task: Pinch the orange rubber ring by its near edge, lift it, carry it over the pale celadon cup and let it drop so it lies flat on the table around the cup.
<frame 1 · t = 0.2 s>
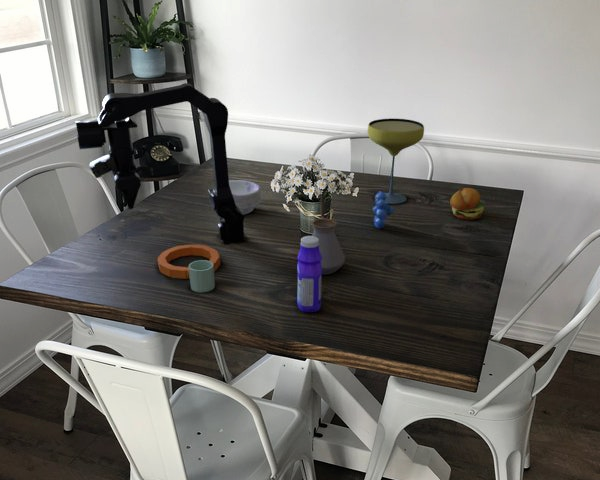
hand: (129, 203, 168), 14 cm above the table, tool pointing down, fingers open, 9 cm apart
grapes: (382, 229, 190), on the table
cocktail glass: (390, 199, 213), on the table
cup: (202, 286, 157), on the table
coffee pot: (322, 260, 170), on the table
cheeseburger: (466, 216, 199), on the table
paper bowls: (237, 210, 203), on the table
ring: (189, 265, 167), on the table
bottle: (309, 307, 148), on the table
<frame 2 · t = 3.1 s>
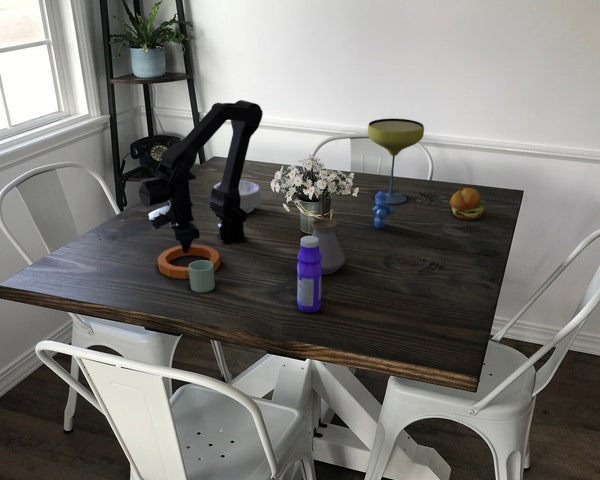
hand: (184, 251, 173), 1 cm above the table, tool pointing down, fingers closed on ring, 2 cm apart
ring: (189, 264, 167), on the table, touching gripper
everything else where it was.
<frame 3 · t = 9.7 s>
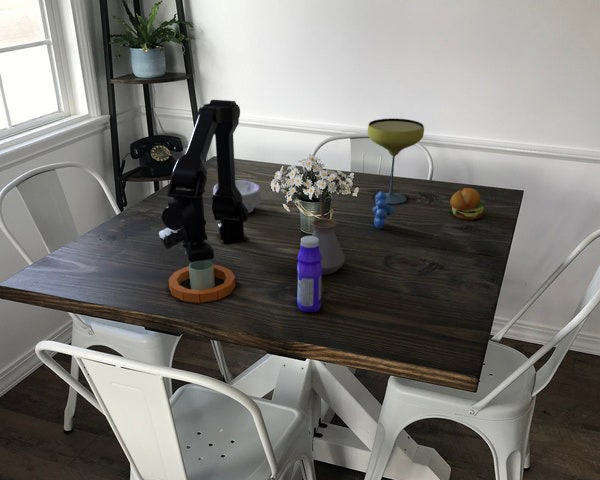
hand: (197, 271, 162), 1 cm above the table, tool pointing down, fingers open, 3 cm apart
ring: (202, 286, 157), on the table
everything else where it was.
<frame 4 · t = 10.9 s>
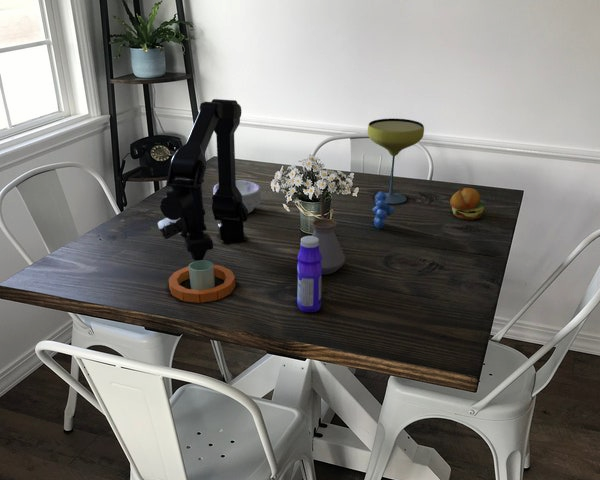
hand: (196, 262, 161), 4 cm above the table, tool pointing down, fingers open, 4 cm apart
nothing on the table moved.
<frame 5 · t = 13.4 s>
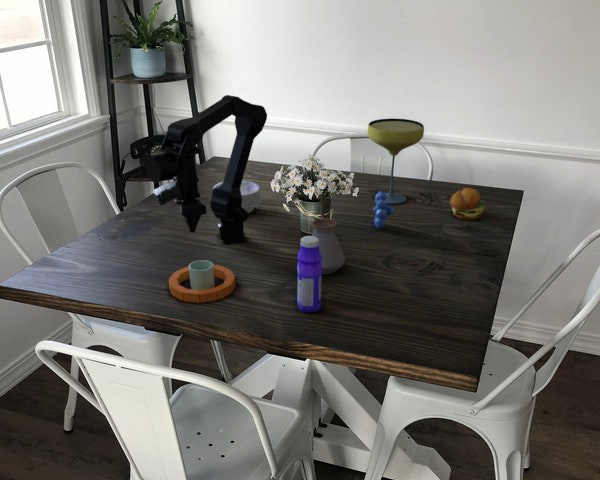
hand: (190, 228, 169), 8 cm above the table, tool pointing down, fingers open, 4 cm apart
nothing on the table moved.
at the end: ring 0.0 cm off-centre in the cup, point 0.0 cm above the cup's base; ring tilted 0°; the gripper is holding nothing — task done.
